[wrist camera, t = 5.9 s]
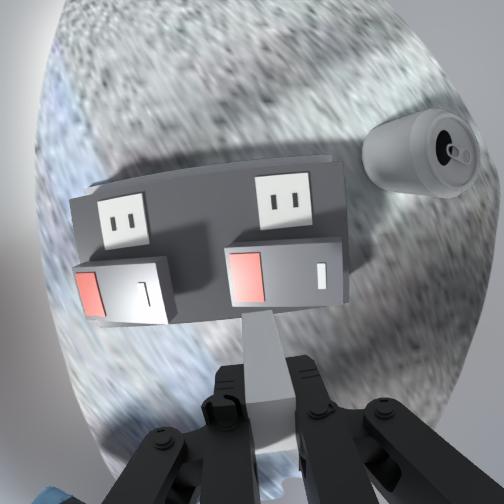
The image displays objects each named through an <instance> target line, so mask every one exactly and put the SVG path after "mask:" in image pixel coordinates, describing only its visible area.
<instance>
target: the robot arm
mask: <svg viewBox="0 0 504 504" xmlns="http://www.w3.org/2000/svg"><path fill="white" fill-rule="evenodd" d="M242 333H243V356H244V364H238V365H227V366H221V367H220V368H219V370H218V371H217V373H216V375H215V386H214V395H212V396H210V397H208V398H207V399H206V400H205V401H204V402H203V404H202V406H201V408H202V412H203V415H204V418H205V421H206V425H205V426H204V427H202V428H200V429H198V430H195V431H192V432H188V433H184V434H182V433H181V432H180V431H179V430H177V429H175V428H172V427H161V428H157V429H155V430H153V431H151V432H149V433H148V434H147V435H146V436H145V438H144V439H143V441H142V443H141V444H140V446H139V447H138V449H137V450H136V452H135V453H134V455H133V456H132V458H131V459H130V461H129V463H128V464H127V466H126V467H125V469H124V470H123V472H122V473H121V475H120V476H119V478H118V479H117V481H116V482H115V484H114V486H113V487H112V488H111V490H110V492H109V493H108V495H107V496H106V498H105V499H104V501H103V502H102V504H195V503H196V501H197V498H198V496H199V493H200V491H201V495H200V504H260V493H259V482H258V471H257V463H256V457H255V454H262V453H271V452H278V451H285V450H292V449H297V446H298V451H299V471H301V472H302V477H303V481H304V486H305V490H306V495H307V500H308V504H379V502H378V499H377V497H376V494H375V492H374V489H373V487H372V484H373V485H374V486H375V487H376V489H377V490H378V491H379V492H380V493H381V495H382V496H383V497H384V498H385V499H386V500H387V502H388V503H389V504H504V488H503V487H502V486H500V485H499V484H498V483H496V482H495V481H494V480H493V479H492V478H490V477H489V476H488V475H487V474H485V473H484V472H483V471H482V470H481V469H479V468H478V467H477V466H476V465H474V464H473V463H472V462H471V461H470V460H468V459H467V458H466V457H465V456H463V455H462V454H461V453H460V452H459V451H457V450H456V449H455V448H454V447H453V446H451V445H450V444H449V443H448V442H446V441H445V440H444V439H443V438H442V437H441V436H439V435H438V434H437V433H436V432H435V431H433V430H432V429H431V428H430V427H429V426H428V425H426V424H425V423H424V422H423V421H422V420H420V419H419V418H418V417H417V416H416V415H415V414H413V413H412V412H411V411H410V410H409V409H407V408H406V407H405V406H404V405H403V404H402V403H400V402H399V401H397V400H395V399H392V398H378V399H375V400H373V401H371V402H370V403H368V404H367V406H366V408H365V409H356V410H352V409H344V408H341V407H339V406H338V405H337V404H336V403H335V402H333V401H331V399H330V398H329V395H328V393H327V390H326V388H325V386H324V383H323V381H322V378H321V376H320V374H319V371H318V370H317V367H316V364H315V362H314V360H313V359H311V358H310V357H309V356H307V355H301V356H295V357H288V358H285V356H284V352H283V348H282V345H281V341H280V337H279V334H278V330H277V326H276V323H275V319H274V315H273V312H272V310H267V311H259V312H251V313H242ZM370 481H371V482H370ZM371 483H372V484H371ZM32 504H86V503H84V502H82V501H80V500H79V499H77V498H75V497H74V496H73V495H69V494H67V493H65V492H64V491H62V490H60V489H58V488H56V487H54V486H48V487H46V488H44V489H43V490H42V491H41V492H40V493H39V495H38V496H37V497H36V498H35V500H34V501H33V503H32Z"/></svg>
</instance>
